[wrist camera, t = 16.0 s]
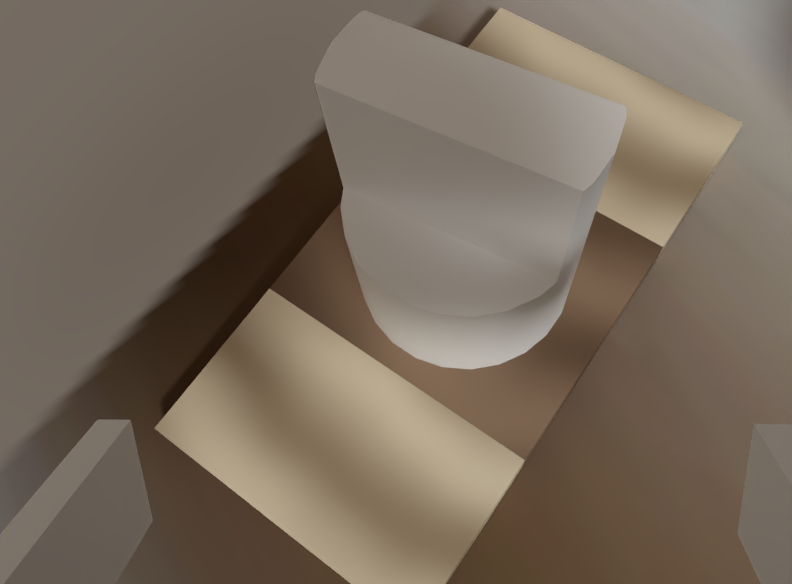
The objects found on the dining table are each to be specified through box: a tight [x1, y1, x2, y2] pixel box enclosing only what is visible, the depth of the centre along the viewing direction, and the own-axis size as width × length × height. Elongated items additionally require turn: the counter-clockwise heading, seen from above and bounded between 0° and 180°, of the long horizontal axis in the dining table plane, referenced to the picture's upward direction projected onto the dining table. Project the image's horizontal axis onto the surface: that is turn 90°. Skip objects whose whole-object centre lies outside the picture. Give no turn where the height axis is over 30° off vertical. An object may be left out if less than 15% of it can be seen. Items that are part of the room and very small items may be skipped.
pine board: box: [155, 8, 744, 584], centre depth 33 cm, size 26×13×2 cm, turn 144°
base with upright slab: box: [314, 10, 627, 369], centre depth 27 cm, size 9×9×12 cm
